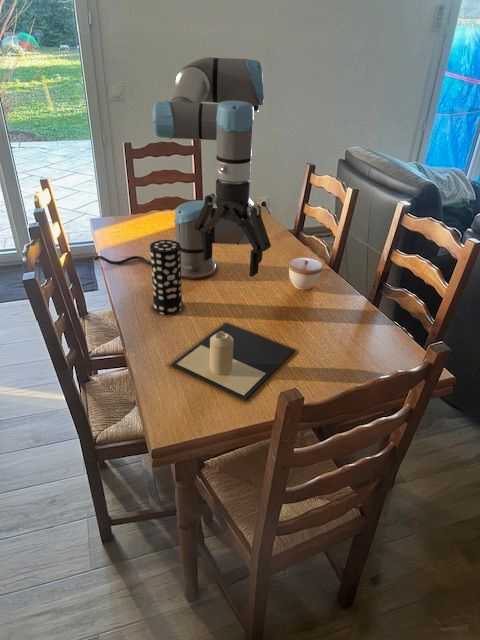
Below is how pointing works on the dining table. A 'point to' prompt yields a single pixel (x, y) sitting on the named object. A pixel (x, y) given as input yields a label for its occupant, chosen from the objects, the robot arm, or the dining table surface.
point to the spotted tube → (166, 276)
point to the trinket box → (304, 272)
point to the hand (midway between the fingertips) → (230, 266)
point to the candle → (221, 353)
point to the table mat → (236, 362)
